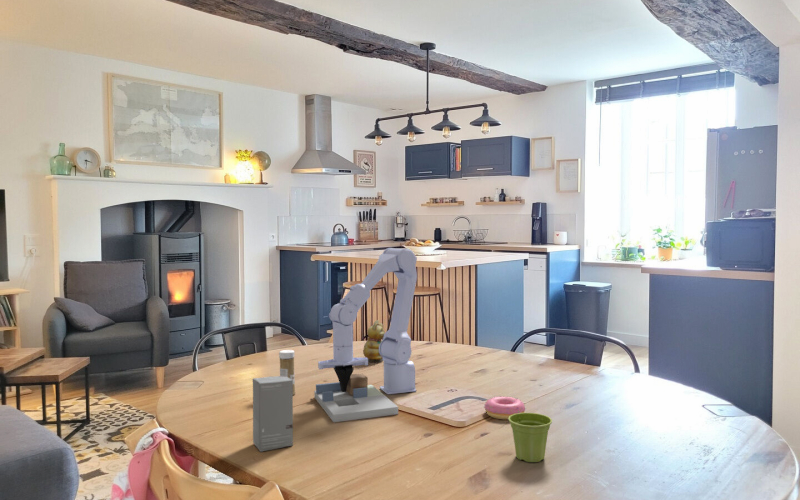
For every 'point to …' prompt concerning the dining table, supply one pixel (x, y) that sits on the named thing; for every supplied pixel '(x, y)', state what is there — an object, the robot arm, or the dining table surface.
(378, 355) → the decorative figurine
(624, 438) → the dining table surface
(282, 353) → the sprinkles bottle
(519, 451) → the plant pot
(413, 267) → the robot arm
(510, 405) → the doughnut
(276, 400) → the skincare box
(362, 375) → the walnut block
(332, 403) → the deck
